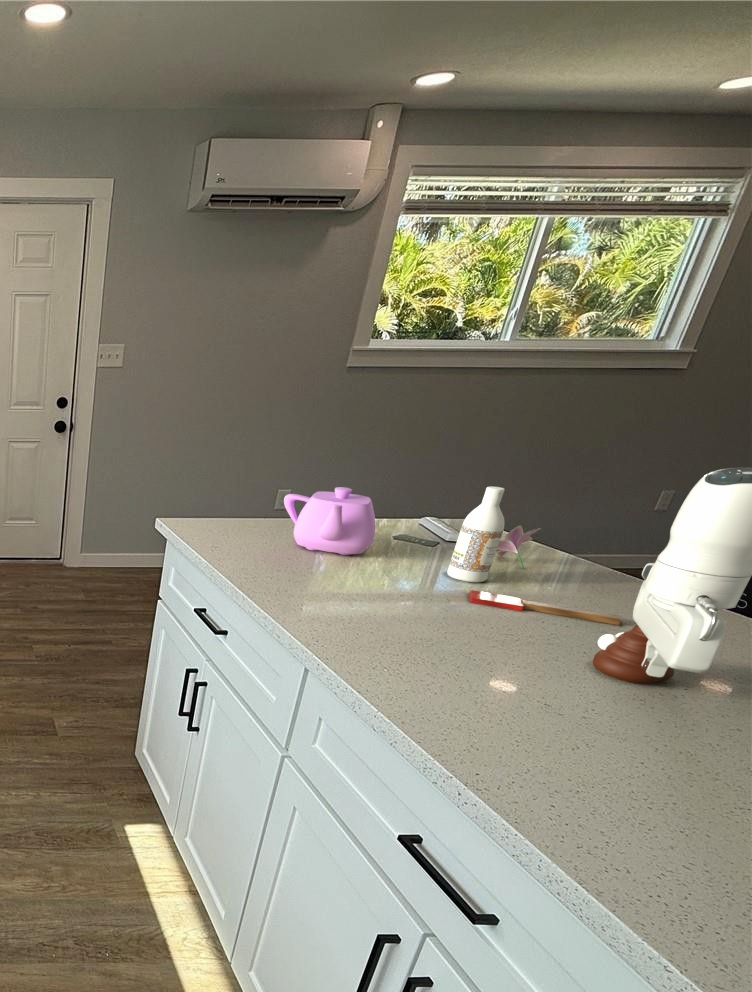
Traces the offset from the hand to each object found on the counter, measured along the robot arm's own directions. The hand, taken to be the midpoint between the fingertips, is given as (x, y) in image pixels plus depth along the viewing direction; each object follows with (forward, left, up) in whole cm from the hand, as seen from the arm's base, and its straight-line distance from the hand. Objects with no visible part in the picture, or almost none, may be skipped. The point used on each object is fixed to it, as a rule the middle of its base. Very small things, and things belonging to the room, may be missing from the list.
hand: (651, 672), depth 94 cm
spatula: (+8, -31, -4) cm, 33 cm away
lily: (+11, -62, -4) cm, 63 cm away
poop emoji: (0, -7, -4) cm, 8 cm away
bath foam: (+19, -45, -4) cm, 49 cm away
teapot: (+46, -52, -4) cm, 70 cm away
